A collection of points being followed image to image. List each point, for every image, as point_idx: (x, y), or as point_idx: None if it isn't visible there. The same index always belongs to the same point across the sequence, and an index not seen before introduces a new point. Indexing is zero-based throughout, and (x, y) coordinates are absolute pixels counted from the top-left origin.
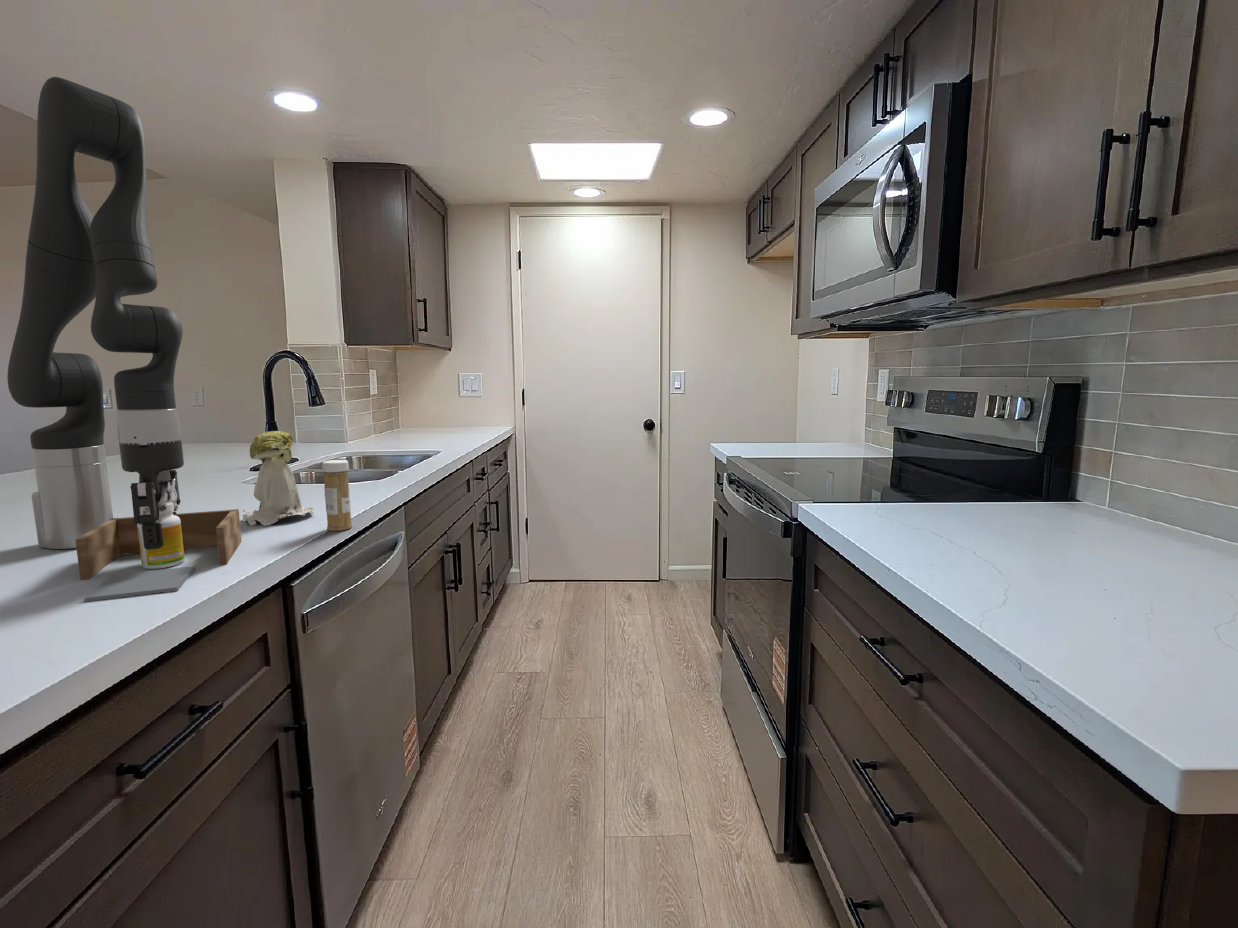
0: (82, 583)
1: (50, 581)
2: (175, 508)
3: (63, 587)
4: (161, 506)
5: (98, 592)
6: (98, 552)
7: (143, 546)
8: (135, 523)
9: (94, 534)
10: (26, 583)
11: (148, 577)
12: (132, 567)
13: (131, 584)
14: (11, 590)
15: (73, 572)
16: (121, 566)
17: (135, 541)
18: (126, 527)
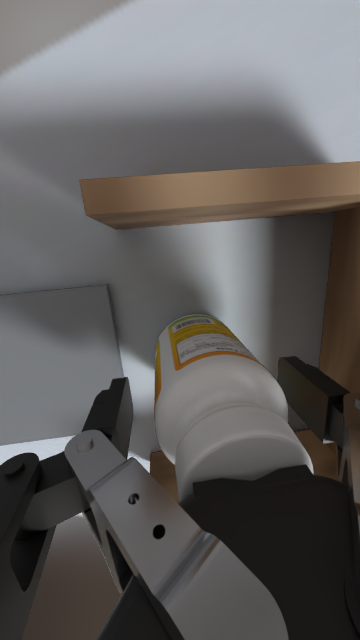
0: (79, 230)
1: (118, 130)
2: (336, 457)
3: (52, 196)
4: (109, 568)
5: None
6: (201, 217)
7: (165, 352)
8: (13, 458)
9: (199, 207)
10: (114, 62)
11: (64, 372)
12: (191, 292)
13: (14, 359)
14: (50, 50)
15: (192, 156)
16: (210, 262)
17: (356, 249)
18: None
